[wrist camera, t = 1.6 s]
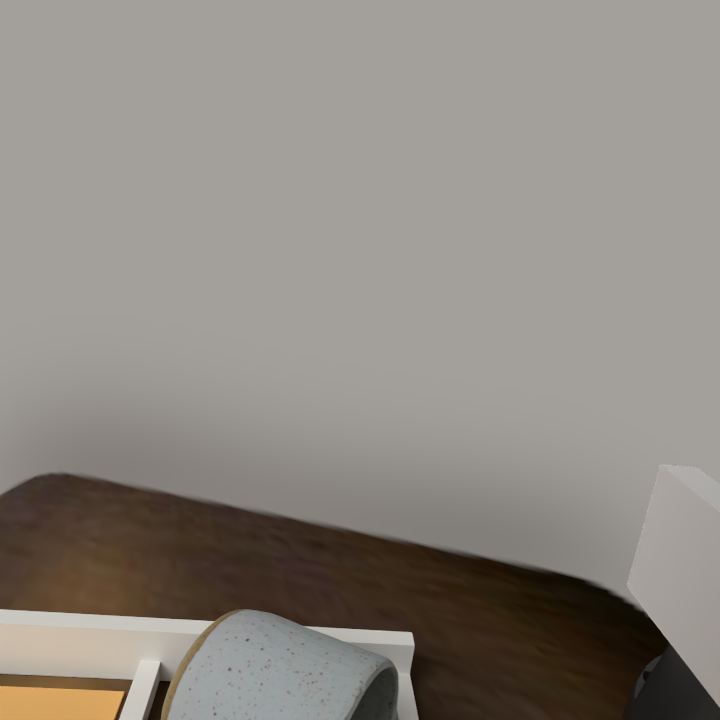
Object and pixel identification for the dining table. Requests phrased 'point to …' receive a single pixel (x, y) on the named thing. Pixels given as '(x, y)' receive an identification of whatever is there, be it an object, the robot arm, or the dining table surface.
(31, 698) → the bay rack
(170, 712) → the ceramic mug
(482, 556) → the dining table surface
